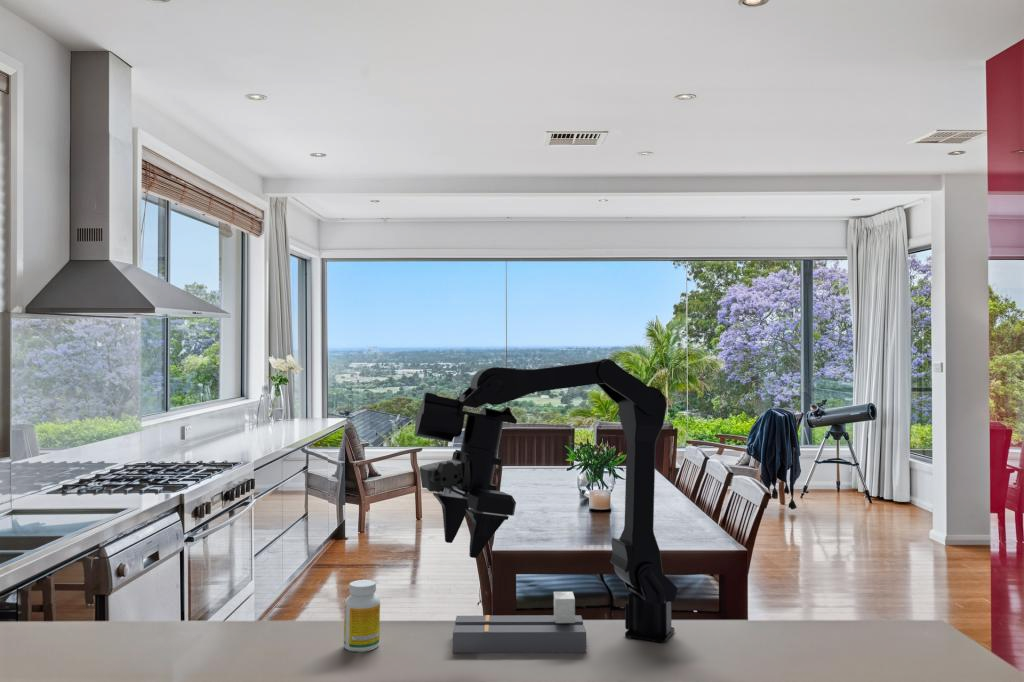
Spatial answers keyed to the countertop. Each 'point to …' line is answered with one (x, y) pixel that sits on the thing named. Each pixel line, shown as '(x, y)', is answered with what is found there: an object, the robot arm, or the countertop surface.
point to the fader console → (517, 634)
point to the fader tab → (564, 608)
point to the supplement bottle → (362, 617)
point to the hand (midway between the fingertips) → (460, 549)
